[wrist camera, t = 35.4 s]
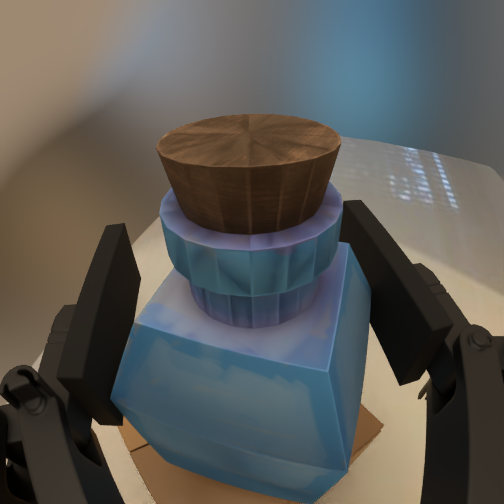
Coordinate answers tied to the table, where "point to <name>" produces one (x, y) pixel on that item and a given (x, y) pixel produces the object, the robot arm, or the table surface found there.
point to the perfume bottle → (251, 312)
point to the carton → (217, 493)
